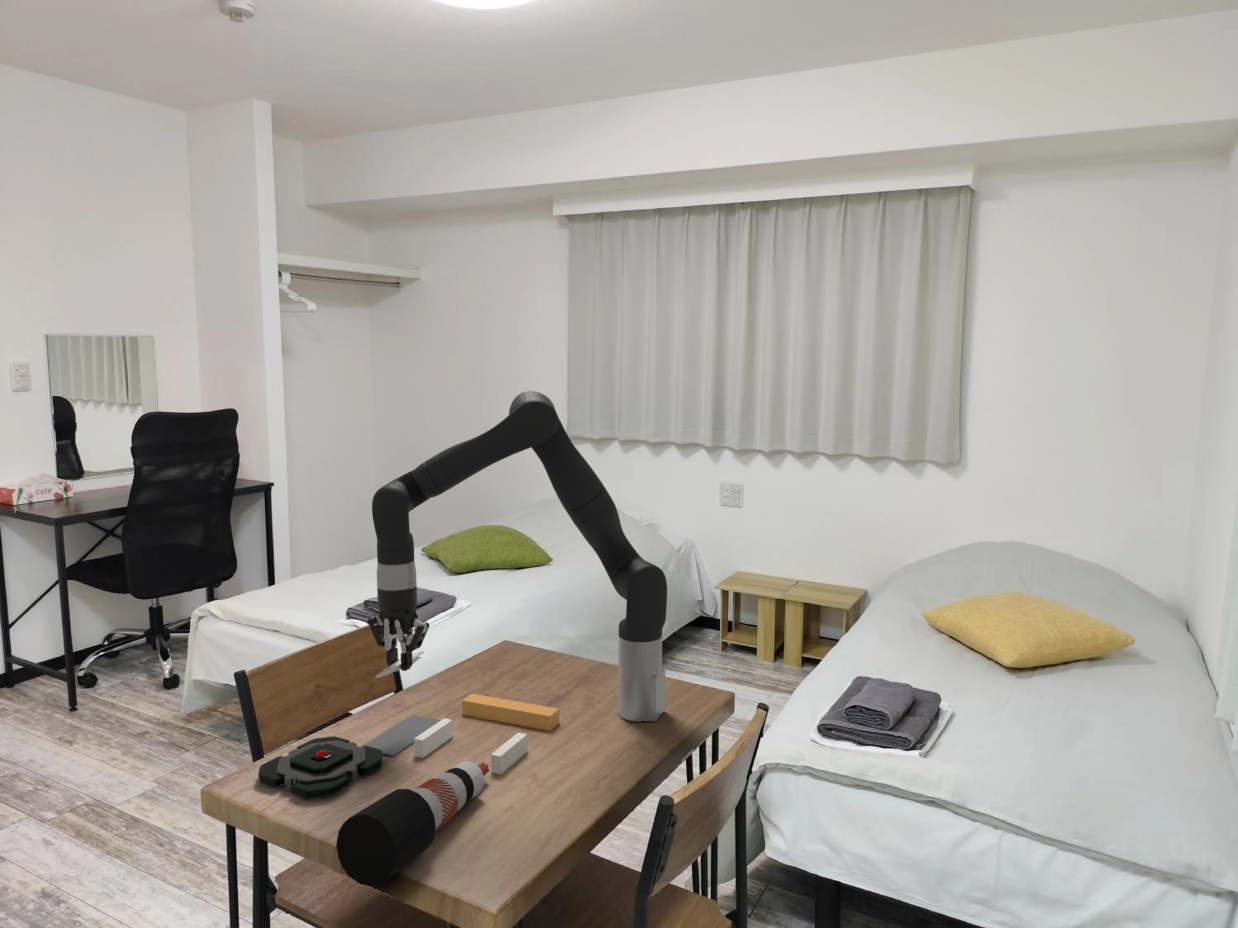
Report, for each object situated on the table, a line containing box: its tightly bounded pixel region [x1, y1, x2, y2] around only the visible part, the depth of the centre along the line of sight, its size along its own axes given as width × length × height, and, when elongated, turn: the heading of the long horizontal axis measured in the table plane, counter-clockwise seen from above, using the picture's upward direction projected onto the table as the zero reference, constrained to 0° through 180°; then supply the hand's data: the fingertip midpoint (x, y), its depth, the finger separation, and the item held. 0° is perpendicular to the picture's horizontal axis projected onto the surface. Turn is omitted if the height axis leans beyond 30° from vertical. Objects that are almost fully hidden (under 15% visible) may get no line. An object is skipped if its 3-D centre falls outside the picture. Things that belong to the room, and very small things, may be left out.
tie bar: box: [461, 693, 560, 731], centre depth 179 cm, size 21×4×4 cm, turn 67°
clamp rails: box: [413, 718, 529, 775], centre depth 163 cm, size 19×10×4 cm, turn 67°
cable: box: [335, 760, 490, 887], centre depth 137 cm, size 10×34×10 cm, turn 157°
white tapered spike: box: [374, 649, 424, 679], centre depth 169 cm, size 15×3×2 cm, turn 156°
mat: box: [360, 713, 442, 758], centre depth 172 cm, size 8×17×1 cm, turn 157°
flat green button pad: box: [257, 735, 384, 799], centre depth 156 cm, size 18×18×5 cm
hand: (399, 668), depth 169 cm, fingers closed on white tapered spike, 2 cm apart
